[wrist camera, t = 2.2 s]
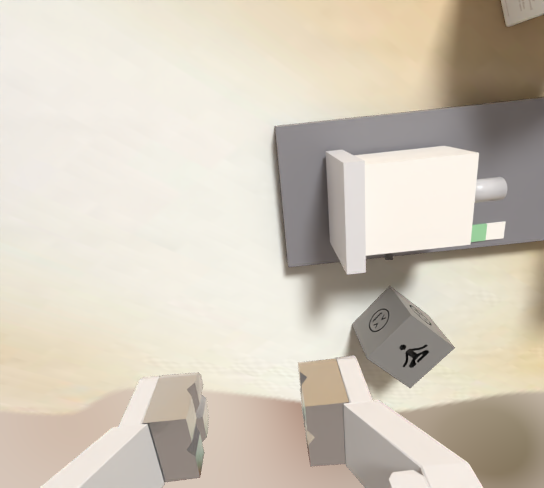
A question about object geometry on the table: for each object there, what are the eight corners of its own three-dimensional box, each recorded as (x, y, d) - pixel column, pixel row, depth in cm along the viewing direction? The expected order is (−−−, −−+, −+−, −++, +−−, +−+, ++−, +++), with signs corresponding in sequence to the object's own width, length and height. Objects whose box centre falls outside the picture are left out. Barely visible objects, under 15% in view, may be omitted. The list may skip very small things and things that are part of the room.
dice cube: (389, 350, 35) (410, 388, 30) (351, 323, 34) (366, 358, 29) (427, 314, 34) (454, 347, 29) (389, 285, 33) (411, 314, 28)
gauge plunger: (331, 264, 29) (347, 301, 24) (325, 151, 26) (343, 162, 21) (474, 248, 29) (525, 282, 24) (486, 134, 26) (547, 141, 21)
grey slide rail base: (287, 260, 31) (299, 329, 22) (274, 126, 28) (283, 135, 18) (613, 225, 31) (776, 279, 21) (646, 86, 27) (863, 73, 18)
